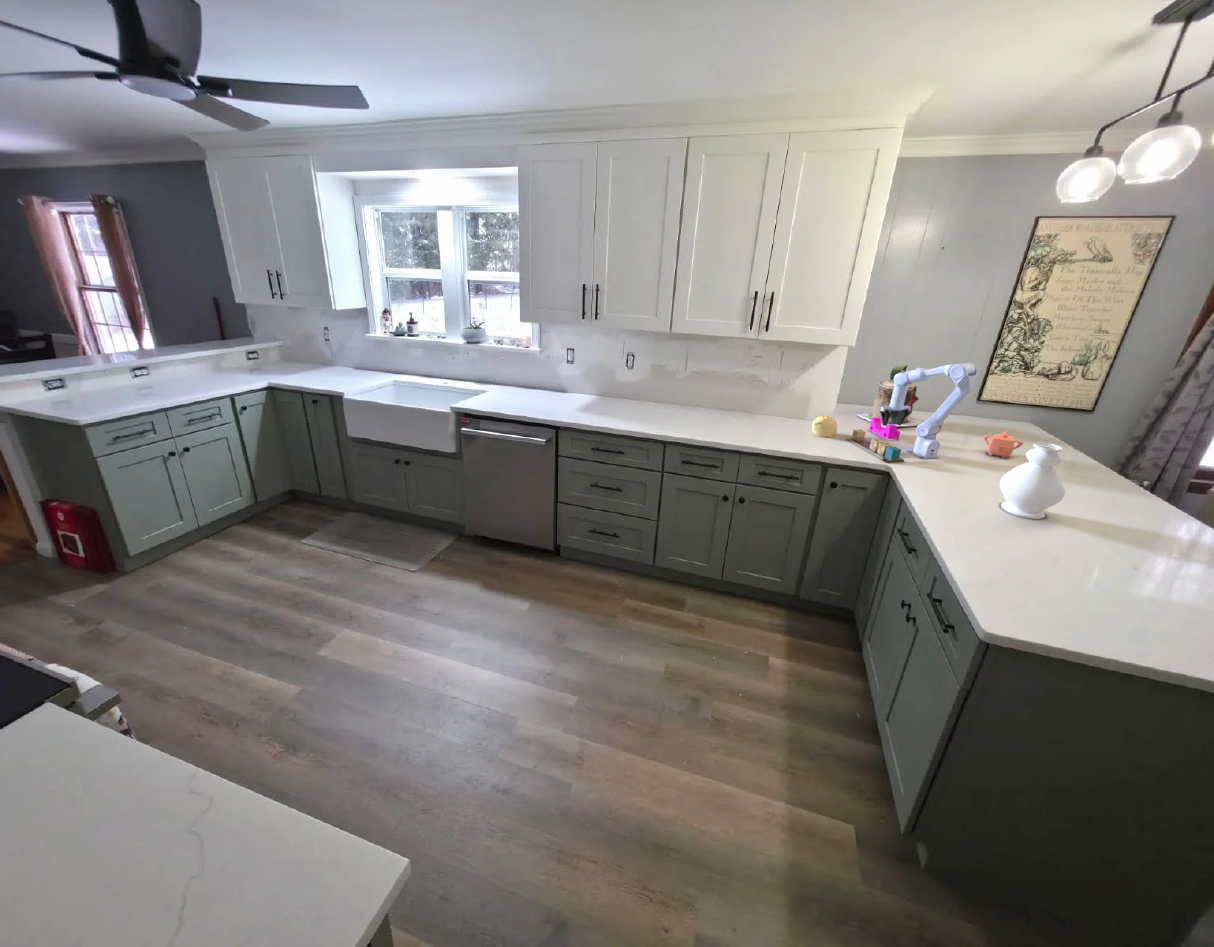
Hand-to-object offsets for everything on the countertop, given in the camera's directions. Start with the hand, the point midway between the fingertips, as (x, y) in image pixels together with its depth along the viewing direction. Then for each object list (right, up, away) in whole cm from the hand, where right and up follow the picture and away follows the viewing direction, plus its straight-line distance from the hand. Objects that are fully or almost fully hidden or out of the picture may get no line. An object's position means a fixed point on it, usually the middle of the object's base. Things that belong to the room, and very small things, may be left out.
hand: (891, 425), depth 240 cm
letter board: (-12, -12, -5) cm, 18 cm away
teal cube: (-10, -16, -17) cm, 25 cm away
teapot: (+45, -15, -9) cm, 48 cm away
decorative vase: (+12, -37, -61) cm, 73 cm away
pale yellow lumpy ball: (-28, -5, +13) cm, 31 cm away
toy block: (+4, -4, +15) cm, 16 cm away
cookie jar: (+20, +6, +38) cm, 43 cm away
